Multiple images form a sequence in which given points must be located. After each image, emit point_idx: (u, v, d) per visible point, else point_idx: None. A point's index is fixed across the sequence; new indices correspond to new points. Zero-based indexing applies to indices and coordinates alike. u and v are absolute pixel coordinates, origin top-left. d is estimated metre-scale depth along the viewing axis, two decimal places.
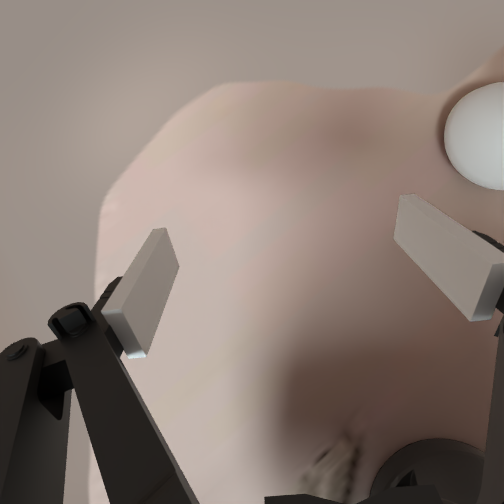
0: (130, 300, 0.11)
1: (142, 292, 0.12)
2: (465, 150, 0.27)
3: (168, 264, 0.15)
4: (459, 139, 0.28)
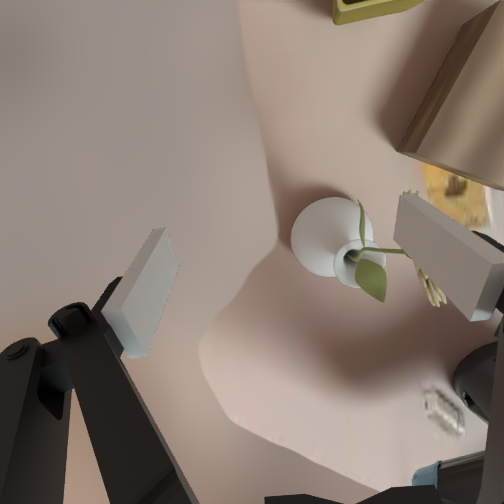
0: (130, 300, 0.11)
1: (142, 292, 0.12)
2: (327, 274, 0.38)
3: (168, 264, 0.15)
4: (318, 272, 0.39)
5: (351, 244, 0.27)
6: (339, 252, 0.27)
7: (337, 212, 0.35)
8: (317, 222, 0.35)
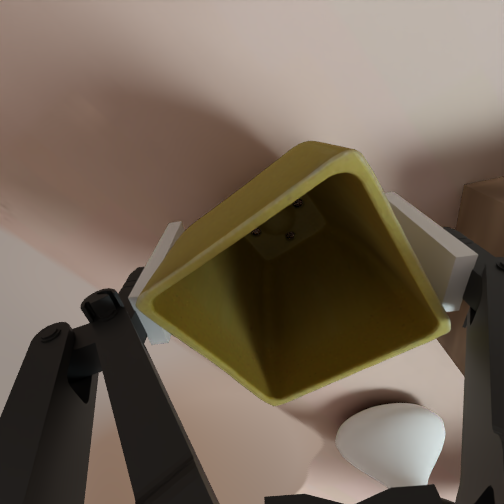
0: None
1: None
2: None
3: None
4: None
5: None
6: None
7: (387, 445, 0.26)
8: (366, 460, 0.27)
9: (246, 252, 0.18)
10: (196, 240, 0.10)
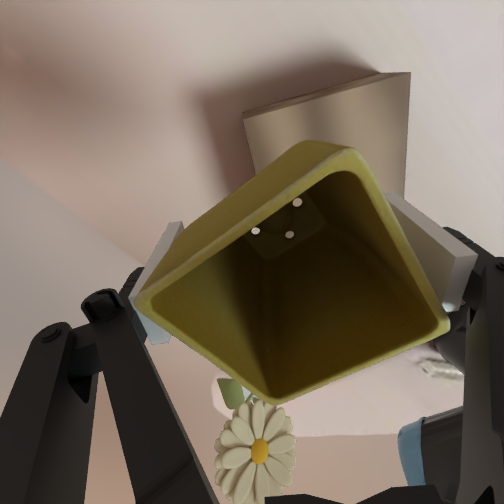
0: None
1: None
2: None
3: None
4: None
5: None
6: None
7: None
8: None
9: (245, 251, 0.18)
10: (194, 239, 0.10)
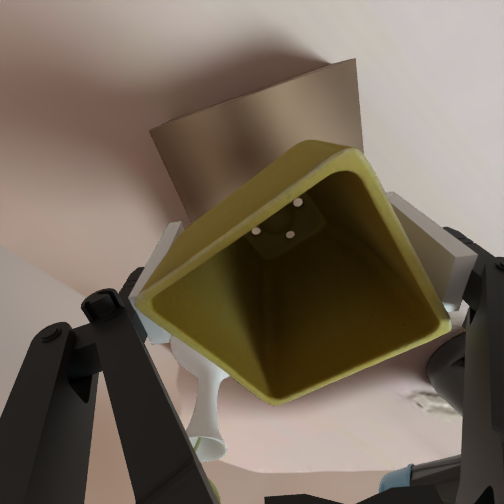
0: None
1: None
2: None
3: None
4: None
5: None
6: None
7: None
8: (182, 356, 0.33)
9: (246, 251, 0.18)
10: (195, 239, 0.10)
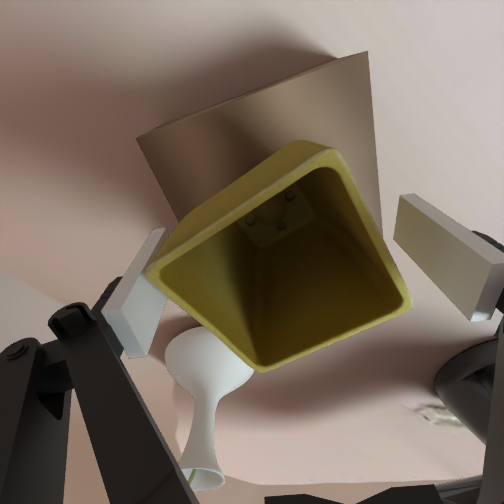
0: (130, 300, 0.11)
1: (142, 292, 0.12)
2: None
3: None
4: None
5: None
6: None
7: (188, 358, 0.30)
8: (177, 373, 0.31)
9: (240, 239, 0.19)
10: (199, 221, 0.12)
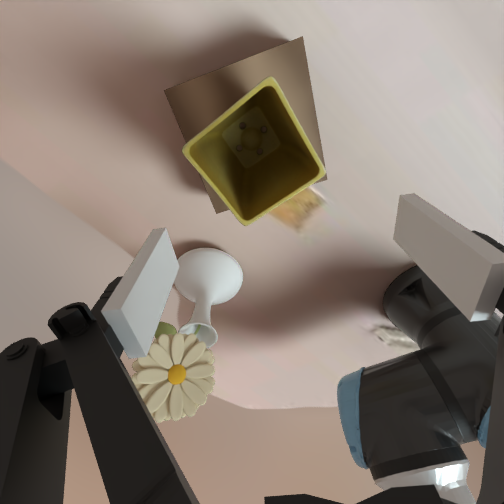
0: (130, 300, 0.11)
1: (142, 292, 0.12)
2: (221, 302, 0.46)
3: (168, 264, 0.15)
4: (215, 304, 0.46)
5: (183, 329, 0.34)
6: None
7: (191, 269, 0.41)
8: (182, 282, 0.42)
9: (233, 159, 0.30)
10: None
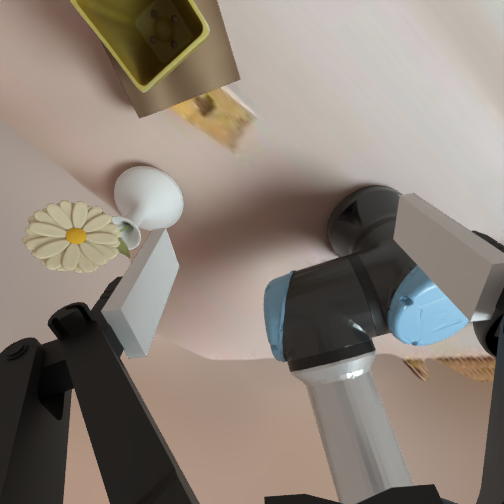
0: (130, 300, 0.11)
1: (142, 292, 0.12)
2: (164, 227, 0.47)
3: (168, 264, 0.15)
4: None
5: None
6: None
7: (127, 185, 0.42)
8: (121, 200, 0.43)
9: (147, 49, 0.31)
10: None
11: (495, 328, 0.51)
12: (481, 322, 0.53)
